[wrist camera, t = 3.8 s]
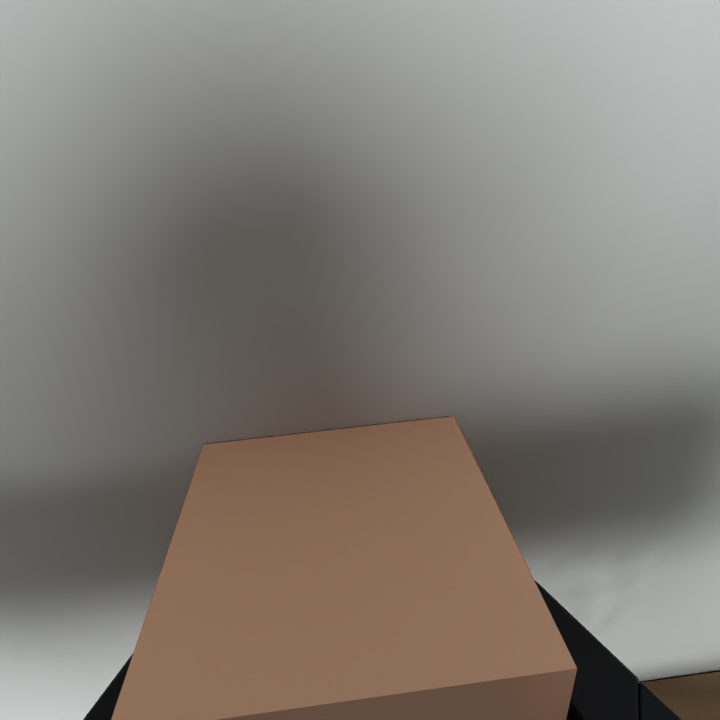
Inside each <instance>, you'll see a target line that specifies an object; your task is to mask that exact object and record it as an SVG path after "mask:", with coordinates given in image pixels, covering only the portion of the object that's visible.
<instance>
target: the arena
mask: <svg viewBox="0 0 720 720" xmlns="http://www.w3.org/2000/svg"><path fill="white" fill-rule="evenodd" d="M643 683H644V684H645V685H646V686H647V687H648V688H649V689H650V690H651V691H652V692H653V693H654V694H655V695H657V696H658V697H659V698H660V699H661V700H662V701H663V702H664V703H665V704H666V705H667V706H668V707H669V708H671V709H672V710H673V711H674V712H675V713H676V714H677V715H678V716H679V717H680V718H681V719H683V720H720V672H713V673H706V674H699V675H692V676H685V677H678V678H671V679H664V680H657V681H650V682H643Z"/></svg>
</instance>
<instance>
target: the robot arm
mask: <svg viewBox="0 0 720 720" xmlns="http://www.w3.org/2000/svg"><path fill="white" fill-rule="evenodd" d="M534 581H535V580H534ZM535 583H536V585H537V587H538V589H539V591H540V593H541V595H542V597H543V599H544V601H545V603H546V605H547V608H548V610H549V612H550V614H551V616H552V618H553V620H554V622H555V624H556V626H557V628H558V630H559V632H560V634H561V636H562V638H563V640H564V642H565V644H566V646H567V648H568V650H569V652H570V655H571V657H572V659H573V661H574V663H575V665H576V667H577V672H576V677H575V681H574V686H573V690H572V695H571V700H570V704H569V709H568V713H567V718H566V720H683V719H681V718H680V717H679V716H678V715H677V714H676V713H675V712H674V711H673V710H672V709H671V708H669V707H668V706H667V705H666V704H665V703H664V702H663V701H662V700H661V699H660V698H659V697H658V696H657V695H655V694H654V693H653V692H652V691H651V690H650V689H649V688H648V687H647V686H646V685H645V684H644V683H643V682H639V680H638V678H637V677H636V676H635V675H634V674H633V673H632V672H631V671H630V670H629V669H628V668H627V667H626V666H625V665H624V664H623V663H622V662H621V661H619V660H618V659H617V658H616V657H615V656H614V655H613V654H612V653H611V652H610V651H609V650H608V649H607V648H606V647H605V646H604V645H603V644H602V643H600V642H599V641H598V640H597V639H596V638H595V637H594V636H593V635H592V634H591V633H590V632H589V631H588V630H587V629H586V628H585V627H584V626H583V625H582V624H580V623H579V622H578V621H577V620H576V619H575V618H574V617H573V616H572V615H571V614H570V613H569V612H568V611H567V610H566V609H565V608H564V607H563V606H562V605H560V604H559V603H558V602H557V601H556V600H555V599H554V598H553V597H552V596H551V595H550V594H549V593H548V592H547V591H546V590H545V589H544V588H543V587H542V586H540V585H539V584H538V583H537V582H536V581H535ZM132 656H133V654H132V655H131V657H130V658H129V659H128V661H127V662H126V663H125V665H124V666H123V667H122V669H121V670H120V671H119V673H118V674H117V675H116V677H115V678H114V679H113V681H112V682H111V683H110V685H109V686H108V687H107V689H106V690H105V691H104V693H103V694H102V695H101V697H100V698H99V699H98V701H97V702H96V703H95V705H94V706H93V707H92V709H91V710H90V711H89V713H88V714H87V715H86V717H85V718H84V719H83V720H111V719H112V716H113V713H114V710H115V707H116V704H117V701H118V698H119V695H120V692H121V689H122V686H123V683H124V680H125V677H126V674H127V671H128V668H129V665H130V662H131V659H132Z"/></svg>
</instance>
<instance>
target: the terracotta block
mask: <svg viewBox="0 0 720 720" xmlns="http://www.w3.org/2000/svg"><path fill="white" fill-rule="evenodd" d="M576 672H577V667H576V665H575V663H574V661H573V659H572V657H571V655H570V652H569V650H568V648H567V646H566V644H565V642H564V640H563V638H562V636H561V634H560V632H559V630H558V628H557V626H556V624H555V622H554V620H553V618H552V616H551V614H550V612H549V610H548V608H547V605H546V603H545V601H544V599H543V597H542V595H541V593H540V591H539V589H538V587H537V585H536V583H535V581H534V579H533V577H532V575H531V573H530V571H529V569H528V567H527V565H526V563H525V561H524V558H523V556H522V554H521V552H520V550H519V548H518V546H517V544H516V542H515V540H514V538H513V536H512V534H511V532H510V530H509V528H508V526H507V524H506V522H505V520H504V518H503V516H502V513H501V511H500V509H499V507H498V505H497V503H496V501H495V499H494V497H493V495H492V493H491V491H490V489H489V487H488V485H487V483H486V481H485V479H484V477H483V475H482V473H481V471H480V469H479V466H478V464H477V462H476V460H475V458H474V456H473V454H472V452H471V450H470V448H469V446H468V444H467V442H466V440H465V438H464V436H463V434H462V432H461V430H460V428H459V426H458V424H457V422H456V419H455V417H454V416H451V417H442V418H433V419H424V420H415V421H406V422H398V423H389V424H380V425H371V426H362V427H354V428H345V429H336V430H327V431H318V432H309V433H301V434H292V435H283V436H274V437H265V438H256V439H248V440H239V441H230V442H221V443H212V444H204V445H203V448H202V451H201V454H200V457H199V460H198V463H197V466H196V469H195V472H194V475H193V478H192V481H191V484H190V487H189V490H188V493H187V496H186V498H185V501H184V504H183V507H182V510H181V513H180V516H179V519H178V522H177V525H176V528H175V531H174V534H173V537H172V540H171V543H170V546H169V549H168V552H167V555H166V558H165V561H164V564H163V567H162V570H161V573H160V576H159V579H158V582H157V585H156V588H155V591H154V594H153V597H152V600H151V603H150V606H149V609H148V612H147V614H146V617H145V620H144V623H143V626H142V629H141V632H140V635H139V638H138V641H137V644H136V647H135V650H134V653H133V656H132V659H131V662H130V665H129V668H128V671H127V674H126V677H125V680H124V683H123V686H122V689H121V692H120V695H119V698H118V701H117V704H116V707H115V710H114V713H113V716H112V719H111V720H566V718H567V713H568V709H569V704H570V700H571V695H572V690H573V686H574V681H575V677H576Z"/></svg>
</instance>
